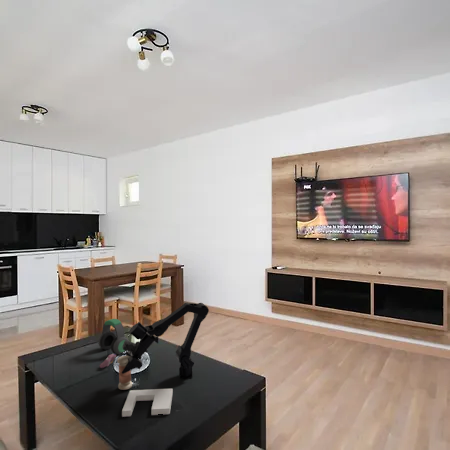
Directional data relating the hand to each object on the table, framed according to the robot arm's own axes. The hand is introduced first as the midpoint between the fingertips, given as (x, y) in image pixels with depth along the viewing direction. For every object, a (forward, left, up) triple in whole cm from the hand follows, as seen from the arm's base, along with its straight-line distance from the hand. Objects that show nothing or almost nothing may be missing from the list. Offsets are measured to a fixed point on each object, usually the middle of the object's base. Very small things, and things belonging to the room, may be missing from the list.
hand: (121, 370), depth 158 cm
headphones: (+16, -45, -9) cm, 49 cm away
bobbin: (-2, -1, -8) cm, 8 cm away
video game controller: (+14, -27, -9) cm, 32 cm away
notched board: (-15, +15, -9) cm, 23 cm away
